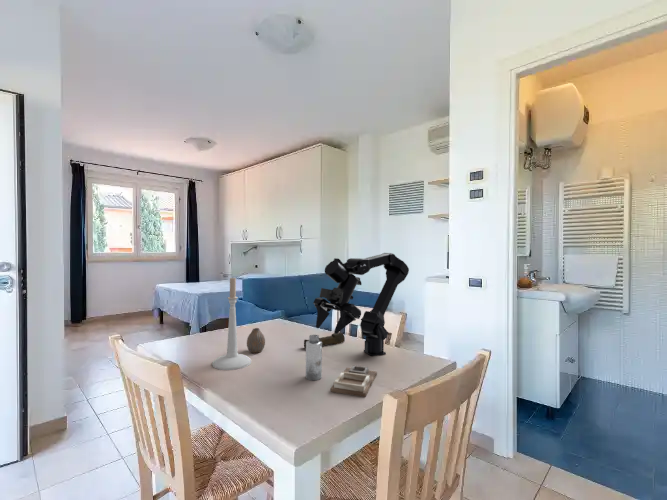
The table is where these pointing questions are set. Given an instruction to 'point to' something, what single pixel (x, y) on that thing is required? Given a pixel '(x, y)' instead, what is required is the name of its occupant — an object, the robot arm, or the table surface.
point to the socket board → (354, 381)
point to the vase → (255, 341)
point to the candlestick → (232, 339)
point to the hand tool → (330, 339)
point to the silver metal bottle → (313, 358)
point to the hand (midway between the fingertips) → (325, 330)
